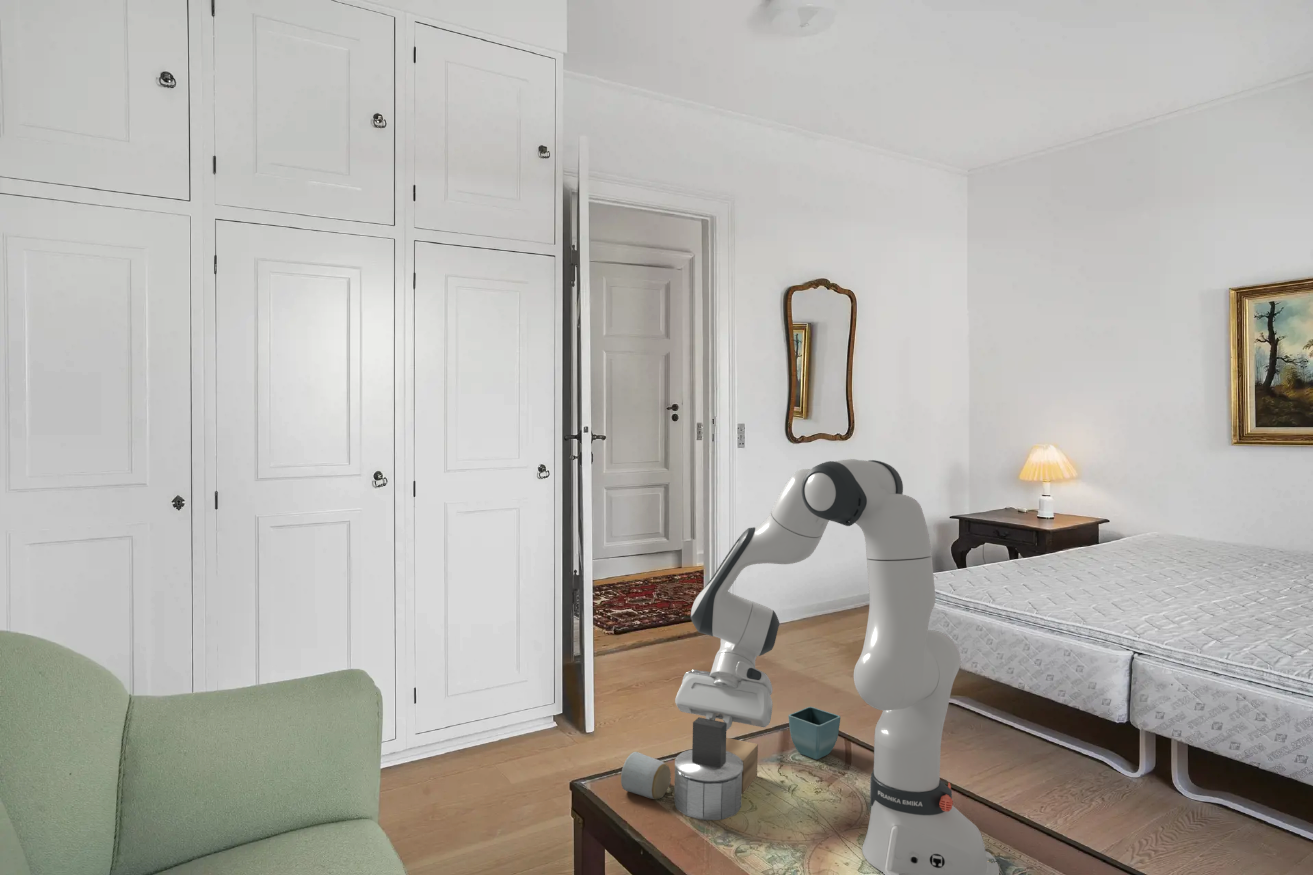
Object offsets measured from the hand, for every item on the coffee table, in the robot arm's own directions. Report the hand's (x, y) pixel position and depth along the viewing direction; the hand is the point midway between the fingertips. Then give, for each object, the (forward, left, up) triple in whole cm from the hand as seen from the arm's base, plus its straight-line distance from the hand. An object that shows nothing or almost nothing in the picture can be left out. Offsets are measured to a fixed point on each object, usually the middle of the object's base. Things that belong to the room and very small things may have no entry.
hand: (713, 737), depth 158 cm
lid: (0, +2, -5) cm, 5 cm away
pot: (0, +2, -12) cm, 12 cm away
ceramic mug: (+13, +3, -13) cm, 18 cm away
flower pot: (-13, -31, -12) cm, 35 cm away
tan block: (0, -9, -12) cm, 15 cm away
